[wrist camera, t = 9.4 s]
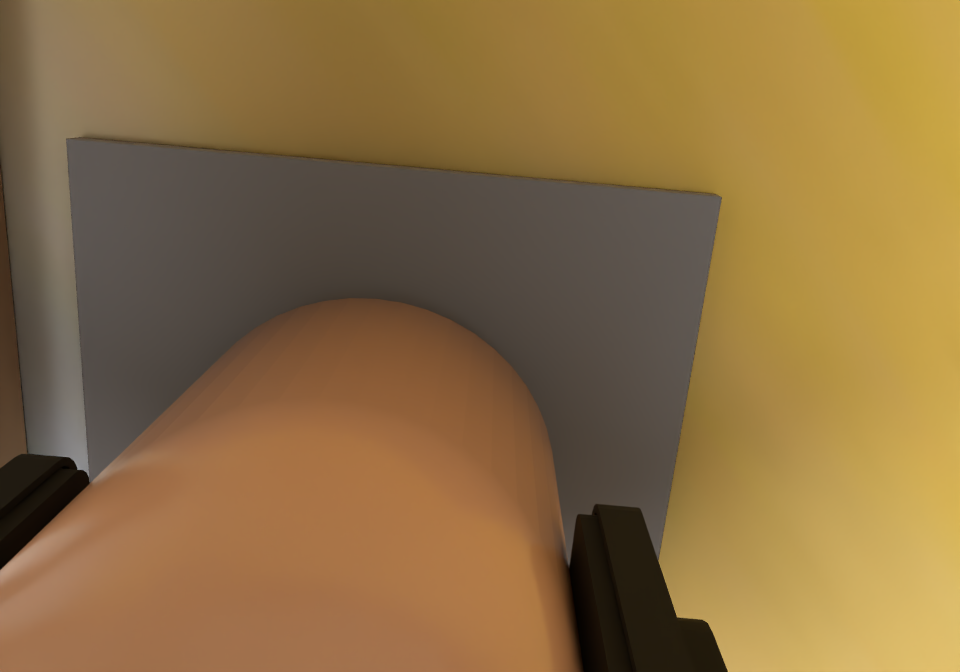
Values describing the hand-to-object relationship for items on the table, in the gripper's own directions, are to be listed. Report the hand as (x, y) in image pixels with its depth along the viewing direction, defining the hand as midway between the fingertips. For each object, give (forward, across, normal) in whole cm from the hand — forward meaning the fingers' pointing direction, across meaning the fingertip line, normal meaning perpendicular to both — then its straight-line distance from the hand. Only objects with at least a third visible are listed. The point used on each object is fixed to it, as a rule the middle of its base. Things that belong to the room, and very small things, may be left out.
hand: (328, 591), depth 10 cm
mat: (+4, 0, 0) cm, 4 cm away
